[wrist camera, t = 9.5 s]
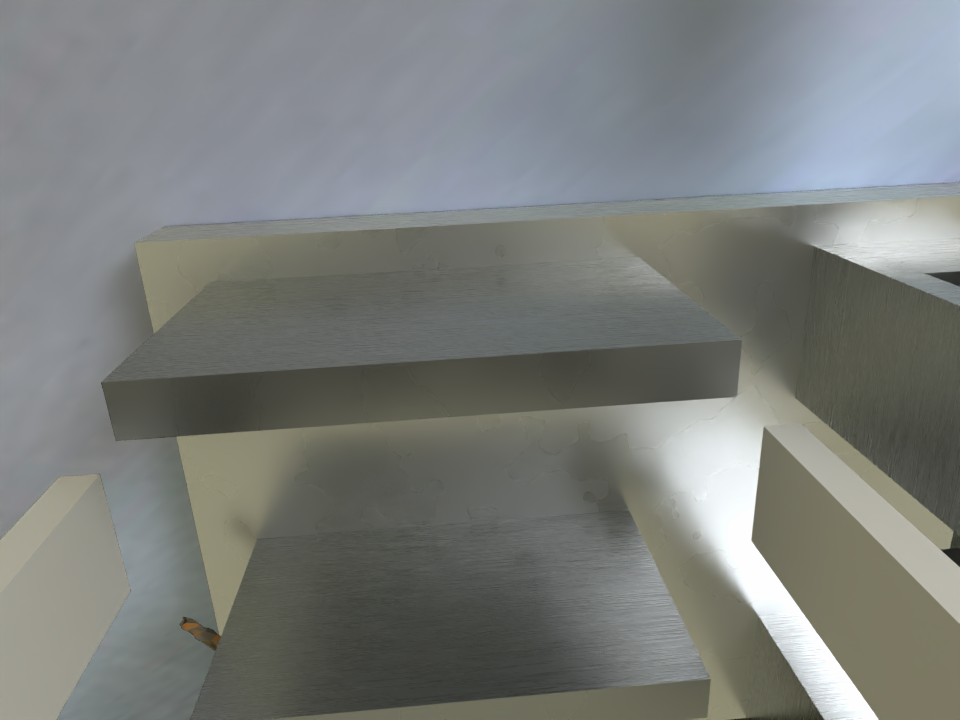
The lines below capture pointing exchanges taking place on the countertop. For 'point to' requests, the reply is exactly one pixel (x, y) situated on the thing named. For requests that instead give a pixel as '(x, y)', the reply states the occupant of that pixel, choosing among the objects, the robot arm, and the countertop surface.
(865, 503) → the robot arm
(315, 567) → the press
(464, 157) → the countertop surface
